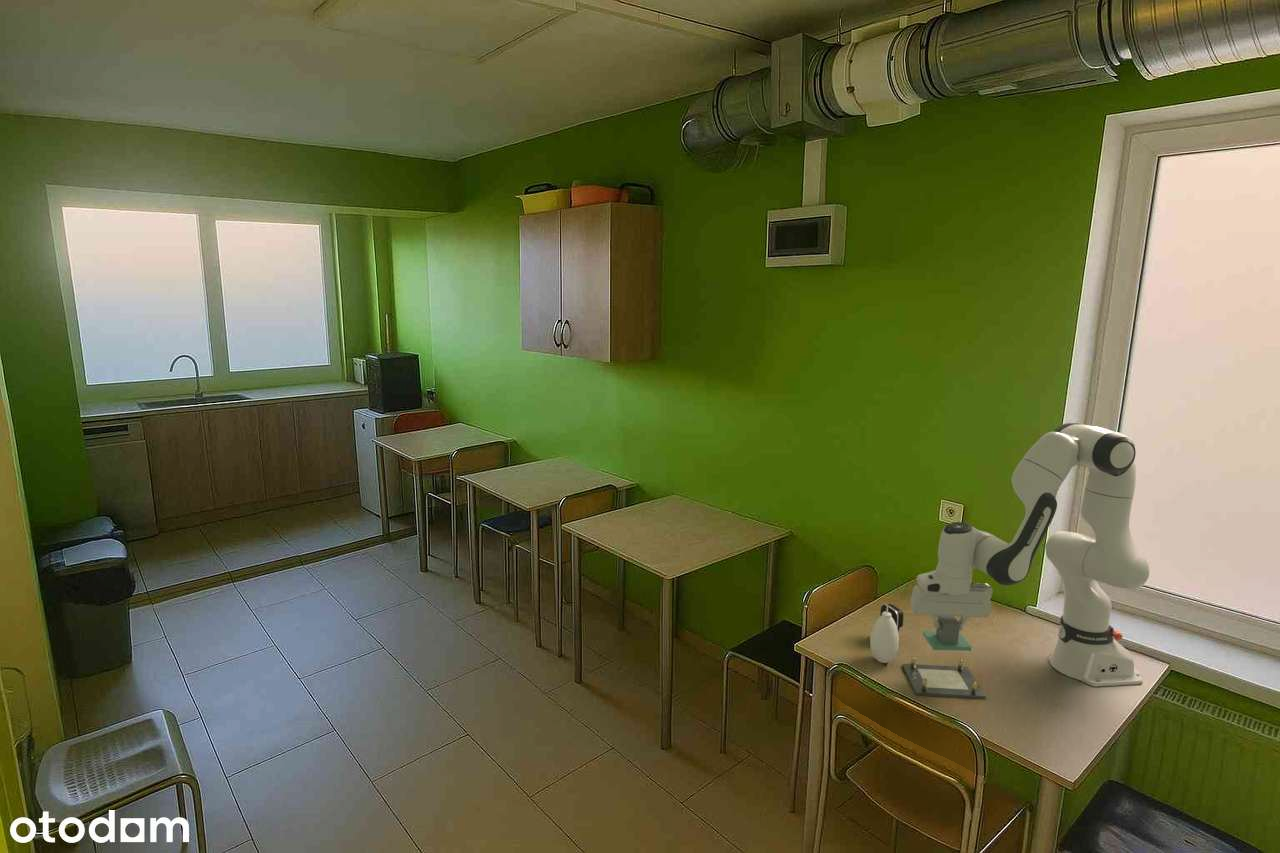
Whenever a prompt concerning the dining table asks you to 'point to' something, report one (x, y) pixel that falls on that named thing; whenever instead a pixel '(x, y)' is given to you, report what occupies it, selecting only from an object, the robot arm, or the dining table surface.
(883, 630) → the white air blower bulb
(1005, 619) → the dining table surface
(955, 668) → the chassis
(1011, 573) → the robot arm
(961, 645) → the board
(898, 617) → the battery charger
